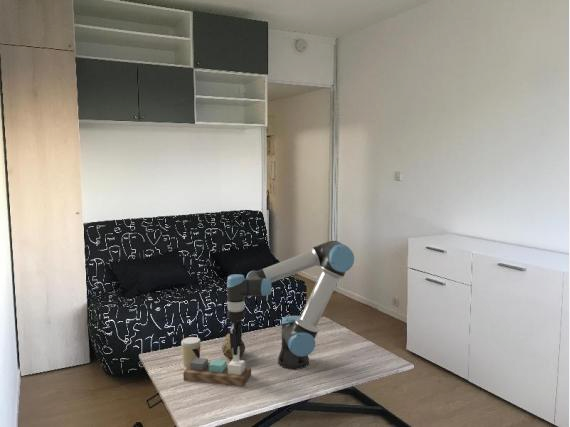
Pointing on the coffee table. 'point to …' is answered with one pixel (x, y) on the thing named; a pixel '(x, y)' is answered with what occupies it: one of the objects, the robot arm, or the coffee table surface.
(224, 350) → the carved stone sculpture
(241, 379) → the frame
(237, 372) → the white key
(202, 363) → the charcoal key
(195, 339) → the coffee cup
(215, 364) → the teal key
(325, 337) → the coffee table surface
